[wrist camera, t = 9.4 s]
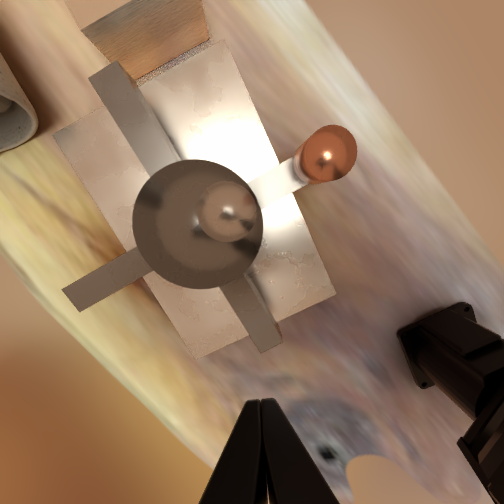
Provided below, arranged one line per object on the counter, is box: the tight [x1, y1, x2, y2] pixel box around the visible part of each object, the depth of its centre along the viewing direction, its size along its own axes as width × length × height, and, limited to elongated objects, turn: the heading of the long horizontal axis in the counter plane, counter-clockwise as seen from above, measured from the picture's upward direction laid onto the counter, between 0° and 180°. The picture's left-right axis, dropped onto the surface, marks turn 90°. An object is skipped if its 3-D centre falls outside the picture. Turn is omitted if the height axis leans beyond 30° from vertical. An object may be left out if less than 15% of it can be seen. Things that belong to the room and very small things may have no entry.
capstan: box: [61, 60, 357, 353], centre depth 12 cm, size 17×17×4 cm
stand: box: [52, 0, 336, 360], centre depth 15 cm, size 24×12×5 cm, turn 26°
